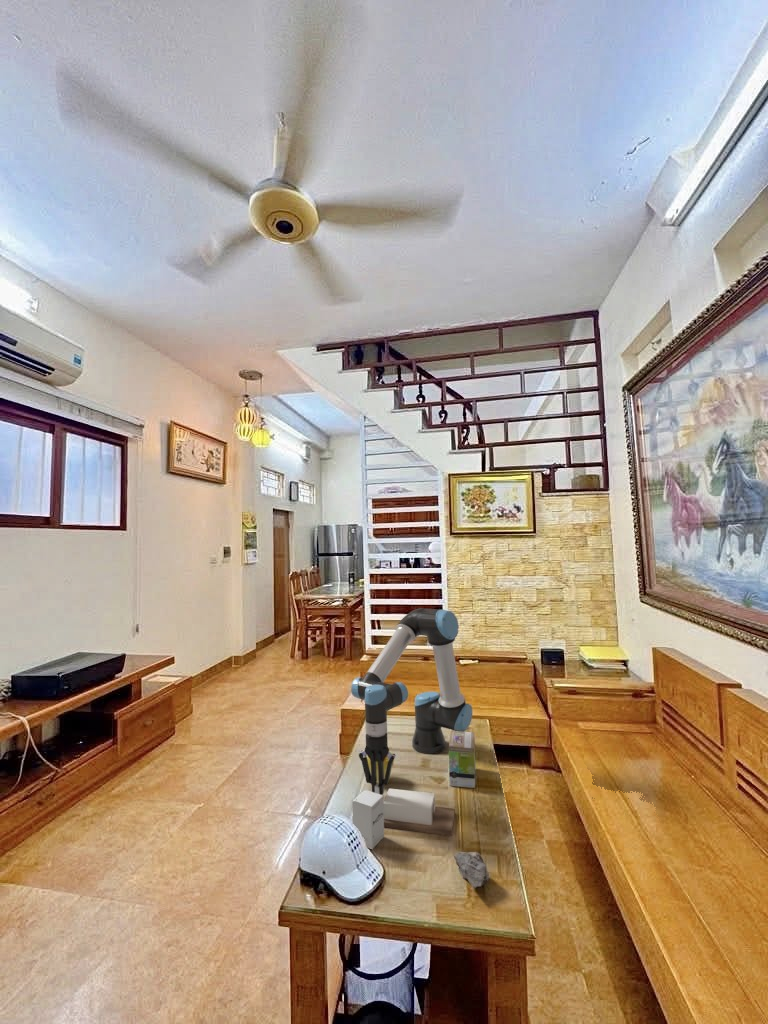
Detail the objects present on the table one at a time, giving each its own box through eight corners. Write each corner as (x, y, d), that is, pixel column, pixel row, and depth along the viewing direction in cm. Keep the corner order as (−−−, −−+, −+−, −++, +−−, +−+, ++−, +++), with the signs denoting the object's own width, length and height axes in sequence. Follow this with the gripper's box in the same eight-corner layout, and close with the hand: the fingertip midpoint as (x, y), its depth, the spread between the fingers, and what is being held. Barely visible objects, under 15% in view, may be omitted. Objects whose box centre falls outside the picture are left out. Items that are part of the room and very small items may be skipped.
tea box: (476, 788, 163) (474, 747, 165) (449, 786, 165) (447, 746, 167) (475, 768, 178) (474, 731, 179) (451, 766, 180) (449, 729, 181)
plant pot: (391, 789, 165) (390, 762, 165) (364, 787, 167) (364, 760, 167) (396, 775, 175) (395, 749, 175) (371, 773, 177) (370, 748, 177)
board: (386, 804, 155) (386, 791, 155) (454, 813, 149) (454, 799, 149) (377, 826, 143) (377, 811, 143) (451, 836, 137) (450, 820, 138)
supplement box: (372, 851, 131) (371, 807, 132) (352, 842, 135) (351, 800, 136) (385, 836, 138) (384, 795, 139) (365, 829, 142) (364, 788, 143)
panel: (389, 803, 153) (389, 788, 153) (435, 808, 149) (434, 793, 149) (383, 819, 144) (382, 803, 145) (431, 825, 140) (430, 808, 141)
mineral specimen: (482, 898, 119) (448, 894, 117) (477, 861, 126) (445, 857, 124) (499, 889, 114) (464, 884, 112) (493, 851, 120) (460, 846, 118)
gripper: (355, 735, 149) (356, 808, 147) (392, 739, 146) (394, 813, 144) (361, 727, 157) (363, 796, 155) (397, 729, 153) (399, 800, 151)
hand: (378, 804), depth 149 cm, fingers closed
